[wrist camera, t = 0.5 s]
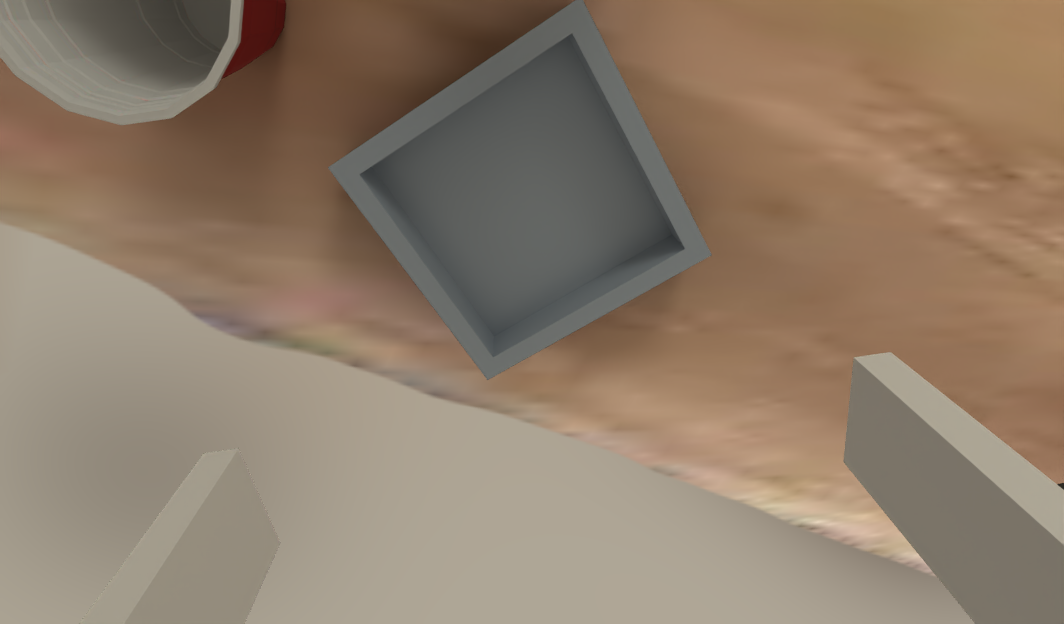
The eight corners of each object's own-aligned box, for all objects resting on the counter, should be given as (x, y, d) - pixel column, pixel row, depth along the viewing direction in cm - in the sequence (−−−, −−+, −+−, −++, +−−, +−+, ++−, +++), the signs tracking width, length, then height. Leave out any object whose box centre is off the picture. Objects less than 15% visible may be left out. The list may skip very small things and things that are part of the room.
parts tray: (346, 155, 36) (327, 167, 32) (572, 2, 33) (581, -4, 29) (489, 351, 42) (487, 379, 38) (692, 235, 39) (711, 255, 35)
